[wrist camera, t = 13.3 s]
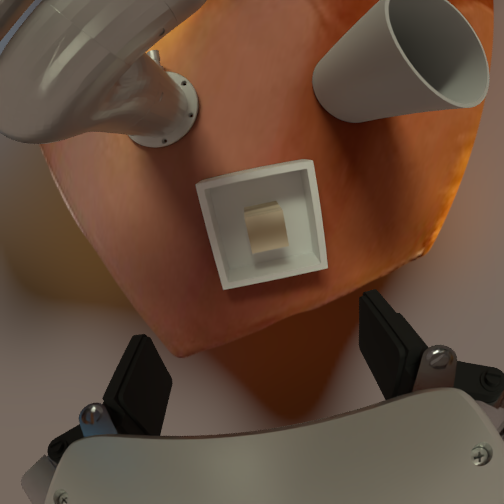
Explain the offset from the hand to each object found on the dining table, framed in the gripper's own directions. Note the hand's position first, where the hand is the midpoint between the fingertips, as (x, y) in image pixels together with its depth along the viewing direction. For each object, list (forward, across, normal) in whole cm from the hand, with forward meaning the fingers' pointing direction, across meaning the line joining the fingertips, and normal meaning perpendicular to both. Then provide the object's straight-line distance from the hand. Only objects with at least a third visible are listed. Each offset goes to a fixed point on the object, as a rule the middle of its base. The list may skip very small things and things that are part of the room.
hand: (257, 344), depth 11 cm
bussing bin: (+33, -2, +3) cm, 33 cm away
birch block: (+32, -2, +3) cm, 33 cm away
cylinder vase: (+34, -20, -16) cm, 42 cm away
